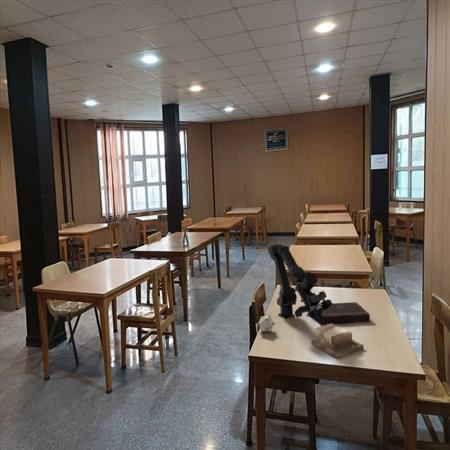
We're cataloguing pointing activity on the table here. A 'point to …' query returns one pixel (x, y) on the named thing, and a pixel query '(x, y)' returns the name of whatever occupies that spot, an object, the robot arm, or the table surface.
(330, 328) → the maple block
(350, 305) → the diary
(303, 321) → the table surface
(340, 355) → the felt tray
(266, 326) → the white spiky ball
